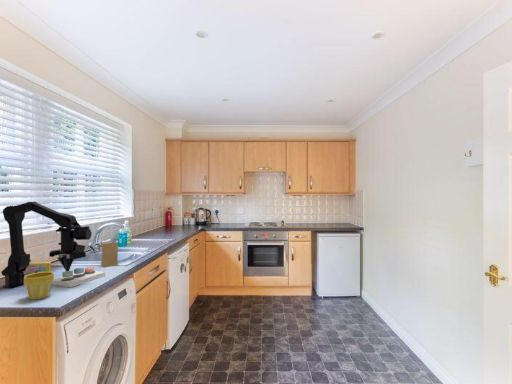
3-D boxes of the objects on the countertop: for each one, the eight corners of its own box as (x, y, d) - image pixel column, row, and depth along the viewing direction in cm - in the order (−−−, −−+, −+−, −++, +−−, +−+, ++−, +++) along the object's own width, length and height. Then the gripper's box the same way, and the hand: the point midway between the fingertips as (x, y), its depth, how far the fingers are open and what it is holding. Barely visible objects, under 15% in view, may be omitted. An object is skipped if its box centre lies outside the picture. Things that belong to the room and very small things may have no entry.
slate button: (77, 274, 141) (77, 270, 141) (71, 273, 142) (71, 269, 142) (85, 271, 145) (85, 268, 145) (79, 271, 146) (79, 267, 146)
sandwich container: (115, 260, 185) (115, 238, 186) (117, 265, 173) (117, 242, 173) (100, 262, 181) (100, 240, 181) (102, 267, 168) (102, 243, 168)
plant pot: (50, 291, 127) (50, 270, 127) (56, 296, 121) (56, 274, 121) (21, 297, 119) (21, 275, 119) (26, 303, 113) (26, 279, 113)
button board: (69, 287, 132) (69, 282, 132) (49, 284, 137) (49, 279, 137) (105, 275, 151) (105, 271, 151) (86, 273, 155) (86, 269, 155)
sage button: (66, 277, 135) (66, 273, 135) (60, 276, 137) (60, 272, 137) (75, 275, 139) (74, 271, 139) (68, 274, 141) (68, 270, 141)
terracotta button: (88, 273, 146) (88, 269, 146) (82, 272, 148) (82, 268, 148) (95, 271, 151) (95, 267, 151) (90, 270, 152) (90, 266, 152)
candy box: (16, 278, 146) (16, 263, 146) (20, 277, 149) (19, 262, 149) (49, 277, 148) (49, 262, 148) (51, 276, 150) (51, 261, 150)
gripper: (95, 238, 143) (95, 268, 142) (70, 236, 149) (70, 265, 149) (74, 242, 132) (74, 274, 132) (48, 240, 138) (48, 270, 138)
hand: (67, 270), depth 138 cm, fingers closed
